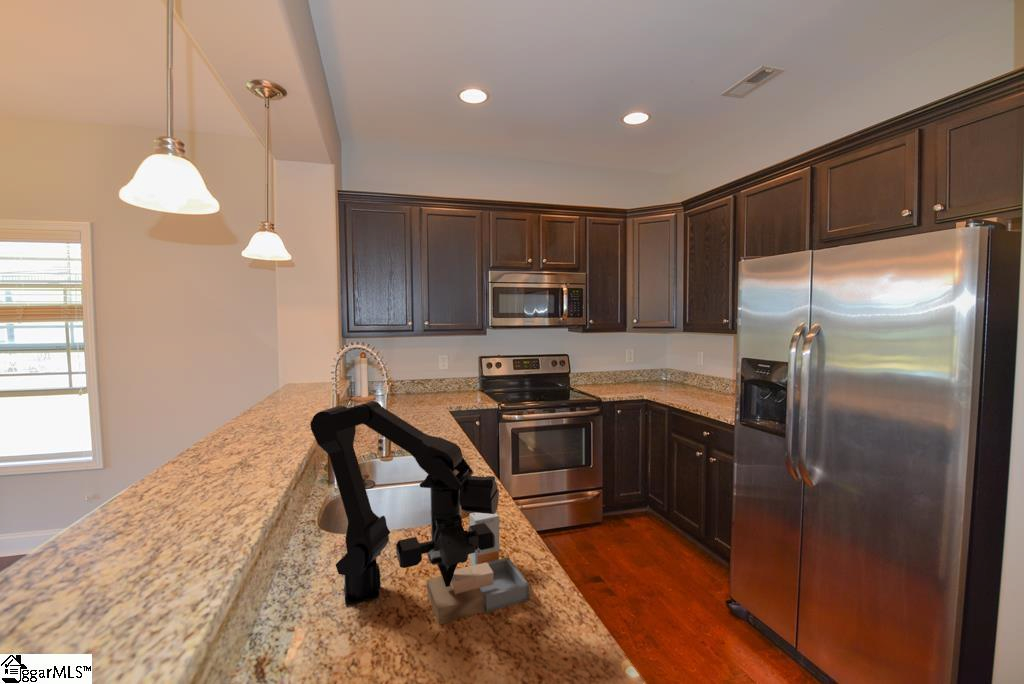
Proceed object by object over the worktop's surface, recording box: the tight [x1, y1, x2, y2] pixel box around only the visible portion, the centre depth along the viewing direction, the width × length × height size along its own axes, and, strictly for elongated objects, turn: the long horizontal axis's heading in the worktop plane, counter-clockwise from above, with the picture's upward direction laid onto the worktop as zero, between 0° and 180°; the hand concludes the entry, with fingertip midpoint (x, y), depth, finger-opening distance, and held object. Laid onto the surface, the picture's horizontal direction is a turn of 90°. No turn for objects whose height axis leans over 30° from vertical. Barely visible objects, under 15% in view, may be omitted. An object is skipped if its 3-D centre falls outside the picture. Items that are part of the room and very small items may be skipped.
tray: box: [479, 557, 530, 613], centre depth 90 cm, size 9×11×3 cm
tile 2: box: [469, 562, 493, 589], centre depth 89 cm, size 4×4×2 cm
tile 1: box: [450, 565, 475, 594], centre depth 87 cm, size 4×4×2 cm
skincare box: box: [468, 512, 500, 566], centre depth 99 cm, size 6×4×12 cm
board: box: [426, 575, 485, 626], centre depth 87 cm, size 9×10×3 cm
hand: (447, 585), depth 86 cm, fingers closed
